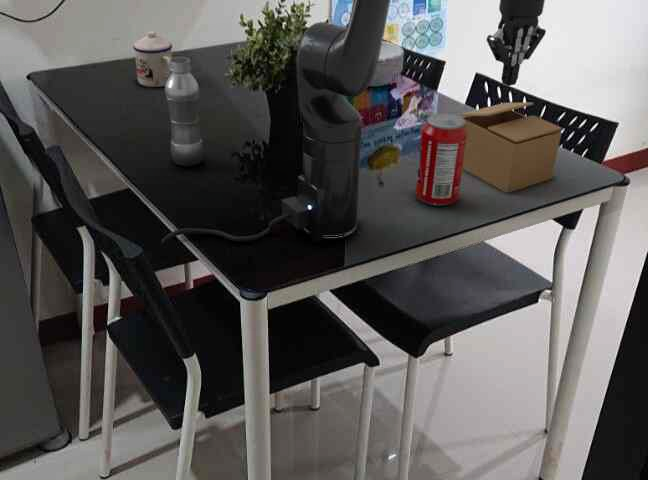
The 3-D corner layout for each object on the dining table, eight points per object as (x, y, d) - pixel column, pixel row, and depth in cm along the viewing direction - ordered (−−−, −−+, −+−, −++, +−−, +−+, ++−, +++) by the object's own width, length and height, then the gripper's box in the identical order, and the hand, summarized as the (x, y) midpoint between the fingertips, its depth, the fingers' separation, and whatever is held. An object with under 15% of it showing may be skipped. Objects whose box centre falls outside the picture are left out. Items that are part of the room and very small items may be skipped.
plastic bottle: (173, 171, 149) (163, 67, 137) (169, 157, 154) (159, 55, 143) (207, 168, 151) (200, 64, 139) (202, 154, 156) (195, 53, 144)
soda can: (435, 212, 138) (444, 132, 129) (405, 196, 143) (413, 117, 134) (466, 201, 142) (478, 122, 133) (437, 185, 147) (446, 108, 138)
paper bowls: (371, 95, 185) (373, 62, 181) (327, 78, 194) (328, 46, 190) (414, 82, 194) (417, 50, 189) (370, 66, 203) (372, 35, 198)
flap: (460, 115, 149) (460, 113, 149) (505, 104, 155) (505, 102, 155) (487, 116, 143) (487, 113, 143) (533, 104, 149) (533, 102, 149)
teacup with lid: (129, 80, 190) (123, 31, 183) (161, 72, 195) (156, 24, 188) (158, 94, 183) (153, 43, 176) (189, 85, 188) (186, 36, 181)
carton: (453, 163, 155) (460, 113, 149) (497, 151, 161) (505, 102, 155) (506, 193, 145) (516, 140, 139) (551, 178, 151) (562, 127, 145)
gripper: (536, -24, 140) (519, 72, 150) (481, -16, 134) (468, 84, 144) (567, -15, 135) (548, 84, 145) (512, -6, 129) (496, 96, 139)
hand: (508, 83), depth 144 cm, fingers closed
